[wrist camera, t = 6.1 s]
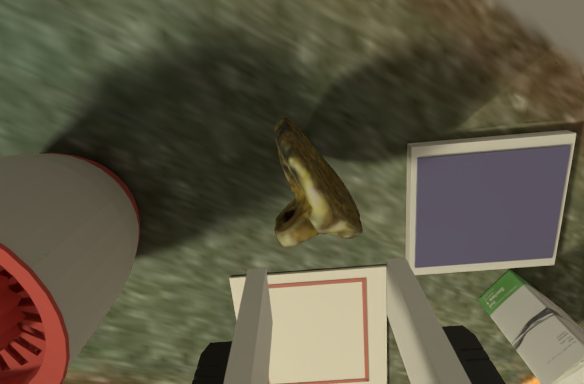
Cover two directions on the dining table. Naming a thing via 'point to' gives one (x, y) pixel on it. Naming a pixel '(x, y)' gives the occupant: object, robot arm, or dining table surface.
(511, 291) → the ink box
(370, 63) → the dining table surface
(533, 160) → the ink pad
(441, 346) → the robot arm
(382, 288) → the paper
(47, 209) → the citrus juicer
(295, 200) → the brown mottled tapered part
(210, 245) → the dining table surface
